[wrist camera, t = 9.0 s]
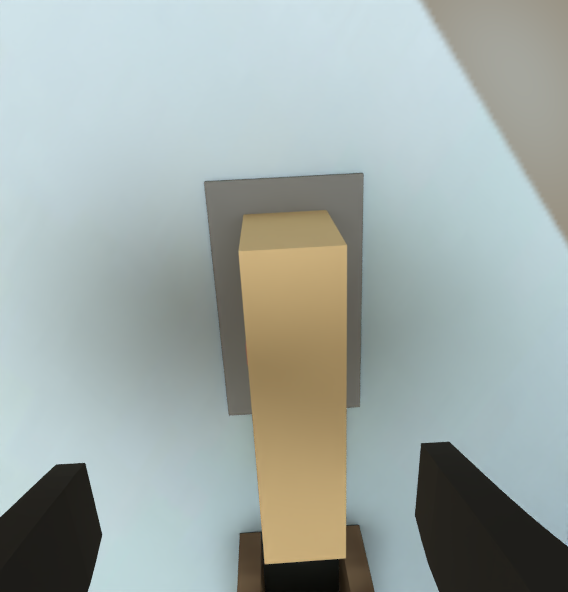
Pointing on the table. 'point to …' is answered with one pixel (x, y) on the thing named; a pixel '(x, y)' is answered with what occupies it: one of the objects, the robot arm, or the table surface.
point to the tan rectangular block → (297, 379)
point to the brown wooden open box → (352, 569)
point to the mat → (225, 245)
